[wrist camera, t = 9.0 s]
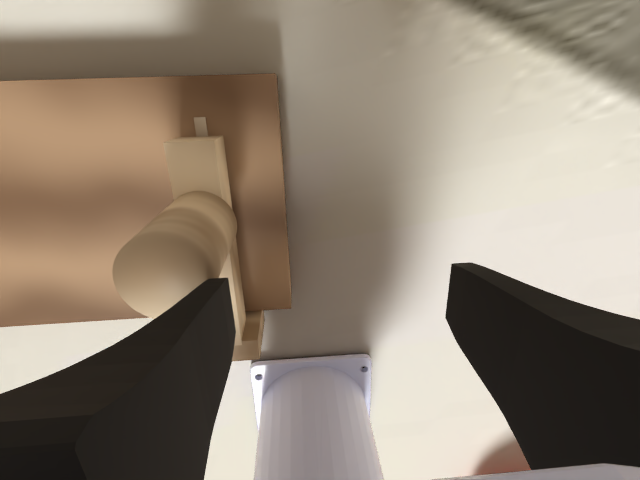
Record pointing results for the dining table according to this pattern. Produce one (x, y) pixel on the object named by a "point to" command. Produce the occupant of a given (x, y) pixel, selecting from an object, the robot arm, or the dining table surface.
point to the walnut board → (127, 185)
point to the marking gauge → (190, 242)
